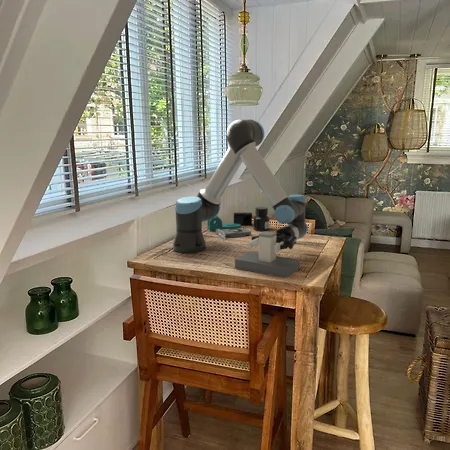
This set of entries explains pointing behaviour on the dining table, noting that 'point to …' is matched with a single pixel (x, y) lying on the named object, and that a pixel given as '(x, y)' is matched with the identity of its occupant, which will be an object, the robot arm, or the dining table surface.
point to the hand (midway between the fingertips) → (262, 247)
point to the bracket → (220, 224)
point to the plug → (267, 246)
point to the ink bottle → (261, 219)
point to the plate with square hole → (267, 265)
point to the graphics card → (232, 232)
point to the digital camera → (243, 219)
